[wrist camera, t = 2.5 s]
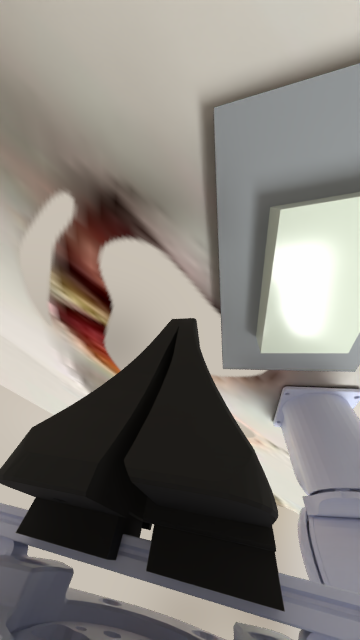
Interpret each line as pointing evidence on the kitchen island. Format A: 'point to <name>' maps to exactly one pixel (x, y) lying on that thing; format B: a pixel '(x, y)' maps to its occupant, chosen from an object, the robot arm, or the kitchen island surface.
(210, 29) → the kitchen island surface
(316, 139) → the raised plate
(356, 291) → the tile
